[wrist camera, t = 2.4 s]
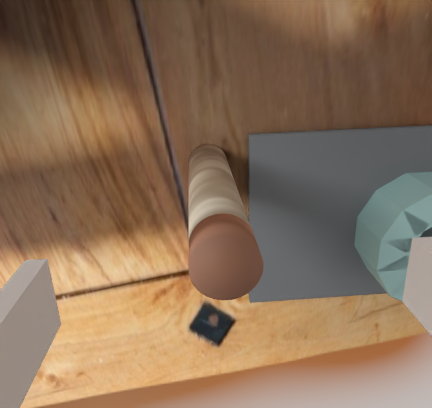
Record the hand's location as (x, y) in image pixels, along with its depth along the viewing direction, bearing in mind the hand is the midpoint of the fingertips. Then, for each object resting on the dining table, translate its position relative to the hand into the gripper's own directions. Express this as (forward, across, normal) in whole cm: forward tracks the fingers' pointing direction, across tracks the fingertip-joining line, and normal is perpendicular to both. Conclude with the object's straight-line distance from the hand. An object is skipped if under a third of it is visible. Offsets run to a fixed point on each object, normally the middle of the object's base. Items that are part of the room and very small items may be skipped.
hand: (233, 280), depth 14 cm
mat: (+16, +13, -5) cm, 21 cm away
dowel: (+16, 0, 0) cm, 16 cm away
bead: (+15, +16, -6) cm, 22 cm away
